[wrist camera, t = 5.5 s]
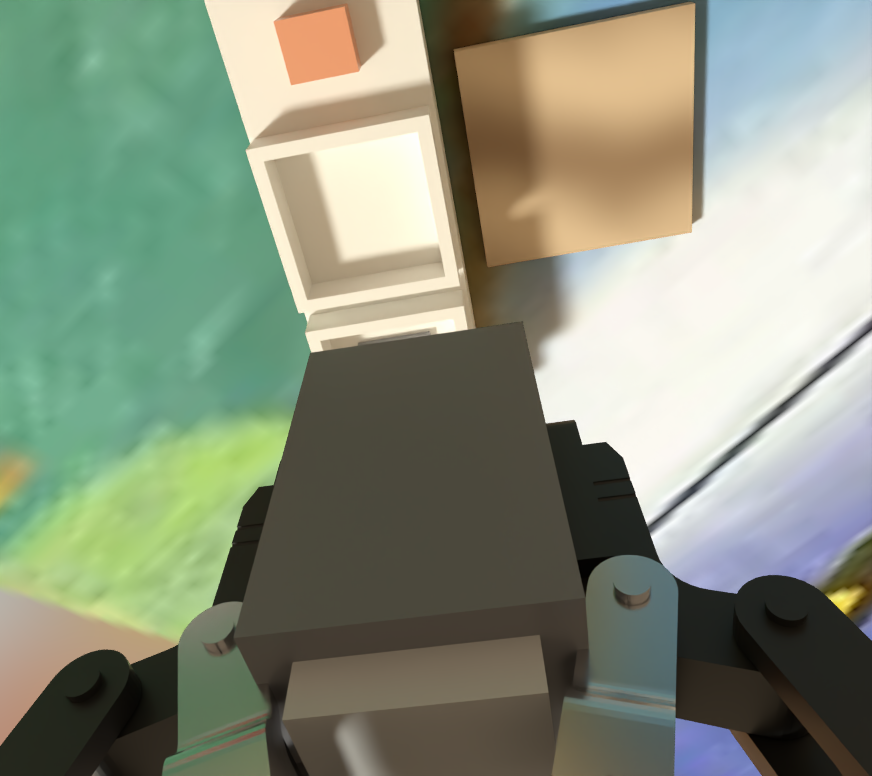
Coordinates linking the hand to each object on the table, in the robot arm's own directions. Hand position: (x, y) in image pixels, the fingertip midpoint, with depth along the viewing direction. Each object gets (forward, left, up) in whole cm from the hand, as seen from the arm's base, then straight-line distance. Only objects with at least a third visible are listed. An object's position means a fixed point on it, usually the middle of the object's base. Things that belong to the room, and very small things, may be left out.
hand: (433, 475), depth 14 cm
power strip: (0, -3, -19) cm, 20 cm away
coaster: (0, +6, -19) cm, 20 cm away
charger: (0, 0, -2) cm, 2 cm away
